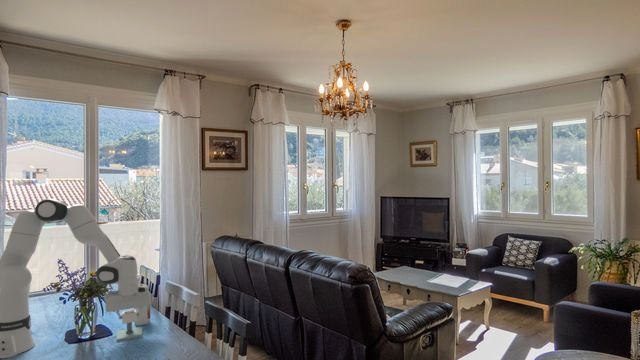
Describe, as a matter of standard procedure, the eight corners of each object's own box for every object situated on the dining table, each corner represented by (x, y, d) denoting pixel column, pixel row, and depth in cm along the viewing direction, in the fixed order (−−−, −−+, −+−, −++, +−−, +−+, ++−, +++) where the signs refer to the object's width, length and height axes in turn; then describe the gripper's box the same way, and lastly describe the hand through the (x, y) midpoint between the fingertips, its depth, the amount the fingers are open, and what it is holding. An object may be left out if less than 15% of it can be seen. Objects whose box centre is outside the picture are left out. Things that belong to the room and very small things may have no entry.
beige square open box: (122, 323, 190) (122, 315, 190) (122, 319, 196) (122, 311, 195) (136, 321, 193) (136, 313, 192) (136, 317, 198) (136, 309, 198)
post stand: (116, 341, 187) (115, 323, 186) (117, 333, 197) (116, 315, 196) (142, 337, 191) (141, 319, 191) (141, 329, 201) (141, 311, 201)
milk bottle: (144, 326, 205) (143, 287, 204) (131, 325, 206) (129, 287, 206) (153, 320, 212) (152, 283, 212) (140, 320, 214) (139, 283, 213)
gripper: (103, 294, 186) (104, 323, 187) (150, 287, 195) (152, 315, 196) (104, 290, 192) (105, 319, 192) (150, 284, 201) (151, 311, 201)
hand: (129, 317), depth 194 cm, fingers closed on beige square open box, 6 cm apart
